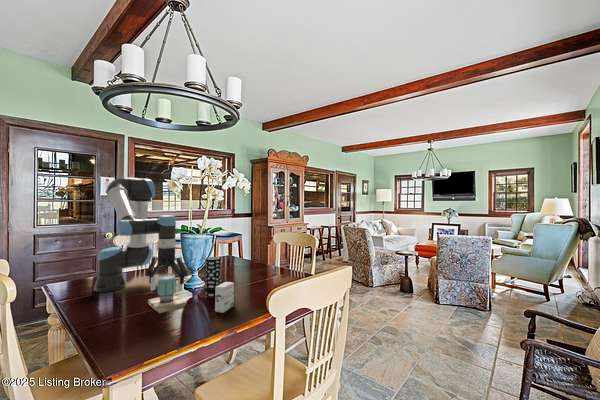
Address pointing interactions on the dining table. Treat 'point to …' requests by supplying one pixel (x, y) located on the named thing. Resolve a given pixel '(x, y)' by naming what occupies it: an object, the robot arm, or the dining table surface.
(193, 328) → the dining table surface
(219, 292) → the ink box
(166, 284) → the cap
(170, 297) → the knobbed metal weight
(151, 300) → the board
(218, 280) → the white-spotted black cylinder
